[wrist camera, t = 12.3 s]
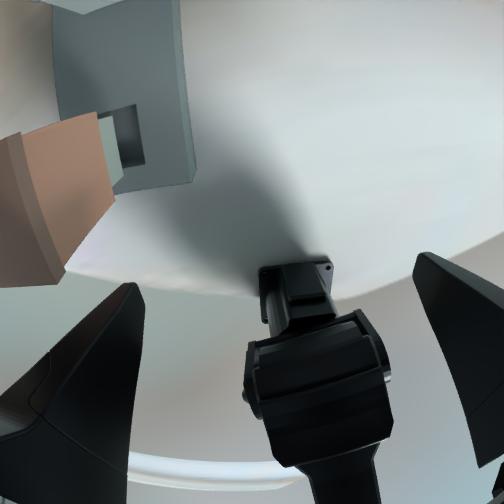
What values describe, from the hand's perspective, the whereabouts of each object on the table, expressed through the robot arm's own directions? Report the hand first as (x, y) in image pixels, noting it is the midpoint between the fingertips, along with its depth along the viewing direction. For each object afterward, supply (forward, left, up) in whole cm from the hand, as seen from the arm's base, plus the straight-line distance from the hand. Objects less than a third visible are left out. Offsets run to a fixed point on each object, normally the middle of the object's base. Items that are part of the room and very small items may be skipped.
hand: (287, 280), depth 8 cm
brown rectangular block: (+3, +8, -8) cm, 12 cm away
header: (+9, +8, -13) cm, 18 cm away
